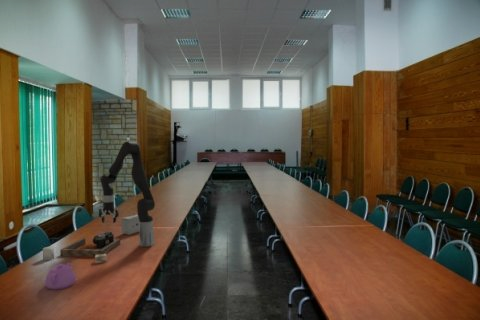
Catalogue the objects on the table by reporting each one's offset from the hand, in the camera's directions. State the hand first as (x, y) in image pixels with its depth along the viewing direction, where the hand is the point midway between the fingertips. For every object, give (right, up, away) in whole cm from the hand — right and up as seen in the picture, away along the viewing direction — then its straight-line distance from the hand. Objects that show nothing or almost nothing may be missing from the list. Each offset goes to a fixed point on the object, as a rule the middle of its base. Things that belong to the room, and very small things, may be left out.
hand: (108, 222), depth 253 cm
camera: (+1, -14, -15) cm, 20 cm away
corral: (-2, -14, -24) cm, 28 cm away
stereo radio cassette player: (+13, -12, +21) cm, 28 cm away
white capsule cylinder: (-22, -15, -42) cm, 49 cm away
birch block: (+13, -15, -47) cm, 51 cm away
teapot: (+6, -17, -79) cm, 81 cm away
